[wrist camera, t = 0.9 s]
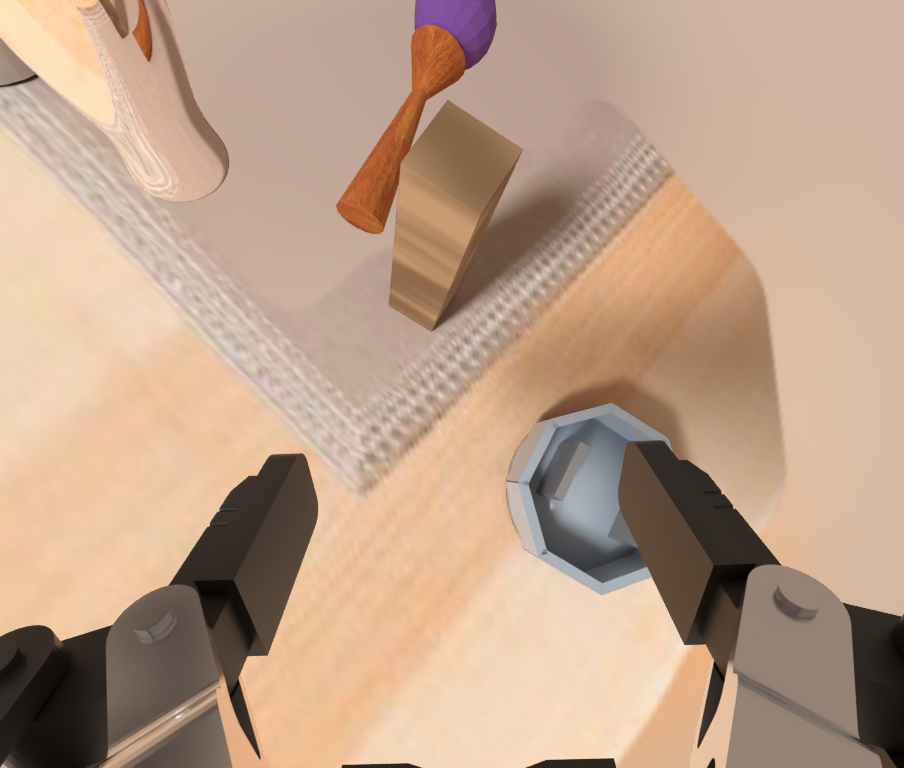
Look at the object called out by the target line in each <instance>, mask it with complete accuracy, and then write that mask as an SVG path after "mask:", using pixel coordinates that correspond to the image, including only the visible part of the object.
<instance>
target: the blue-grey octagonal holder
mask: <svg viewBox="0 0 904 768" xmlns="http://www.w3.org/2000/svg"><path fill="white" fill-rule="evenodd" d="M649 440H662V441H664V442H665V443H666V444H667V445H668V447H669V448H670V449H671V451H672V452H673V450H672V447H671V444H670V441H669V439H668V437H666V436H665V435H663V434H661V433H660V432H658V431H657V430H655V429H653V428H652V427H650V426H649V425H647V424H645V423H644V422H642V421H641V420H639V419H637V418H636V417H634V416H633V415H631V414H629V413H628V412H626V411H625V410H623V409H621V408H620V407H618V406H617V405H615V404H613V403H609V404H605V405H601V406H597V407H594V408H590V409H586V410H582V411H578V412H575V413H571V414H567V415H563V416H559V417H556V418H552V419H548V420H544V421H540V422H536V423H535V424H534V426H533V428H532V430H531V432H530V433H529V434H528V435H527V436H526V437H525V438H524V440H523V441H522V442H521V443H520V445H519V446H518V448H517V450H516V451H515V454H514V456H513V458H512V460H511V463H510V467H509V470H508V476H507V478H506V481H505V483H506V496H507V504H508V509H509V514H510V517H511V520H512V523H513V525H514V527H515V529H516V531H517V533H518V535H519V536H520V538H521V542H522V546H523V548H524V550H526V551H527V552H529V553H531V554H533V555H534V556H536V557H538V558H539V559H541V560H543V561H544V562H546V563H548V564H549V565H551V566H553V567H554V568H556V569H558V570H559V571H561V572H563V573H564V574H566V575H568V576H570V577H571V578H573V579H575V580H576V581H578V582H580V583H581V584H583V585H585V586H586V587H588V588H590V589H592V590H593V591H595V592H597V593H598V594H600V595H601V594H602V595H604V594H607V593H610V592H612V591H615V590H618V589H620V588H623V587H626V586H628V585H631V584H634V583H636V582H639V581H642V580H644V579H647V578H650V577H652V576H651V574H650V572H649V570H648V568H647V566H646V564H645V561H644V559H643V557H642V555H641V553H640V551H639V549H638V547H637V545H636V543H635V541H634V538H633V536H632V534H631V532H630V530H629V528H628V526H627V524H626V522H625V520H624V518H623V515H622V513H621V510H620V506H619V501H618V487H619V482H620V476H621V471H622V465H623V460H624V454H625V449H626V446H627V444H628V442H630V441H649Z"/></svg>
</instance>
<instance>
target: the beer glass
mask: <svg viewBox="0 0 904 768" xmlns="http://www.w3.org/2000/svg"><path fill="white" fill-rule="evenodd" d="M0 39H1V40H2V41H3V42H4V43H5V45H6V46H7V47H8V48H9V49H10V50H11V51H12V52H13V53H14V54H15V55H16V56H17V57H18V58H20V59H21V60H22V61H23V62H24V63H25V64H26V65H27V66H28V67H29V68H30V69H31V70H32V71H33V72H34V73H35V74H37V75H38V76H39V77H40V78H41V79H42V80H43V81H44V82H45V83H47V84H48V85H49V86H50V87H51V88H52V89H53V90H55V91H56V92H57V93H58V94H59V95H60V96H61V97H63V98H64V99H65V100H66V101H67V102H68V103H70V104H71V105H72V106H73V107H74V108H75V109H77V110H78V111H79V112H80V113H81V114H83V115H84V116H85V117H86V118H87V119H88V120H90V121H91V122H92V123H93V124H94V125H95V126H96V127H97V128H99V129H100V130H101V131H102V132H103V133H104V134H105V135H106V136H107V137H108V138H109V139H110V141H111V142H112V143H113V144H114V146H115V147H116V148H117V150H118V151H119V153H120V155H121V157H122V159H123V161H124V163H125V165H126V167H127V169H128V171H129V173H130V174H131V176H132V177H133V179H134V180H135V182H136V183H137V184H138V185H139V186H140V187H141V188H142V189H143V190H145V191H146V192H148V193H149V194H151V195H153V196H155V197H157V198H159V199H162V200H166V201H171V202H190V201H194V200H198V199H201V198H203V197H206V196H208V195H209V194H211V193H212V192H214V191H215V190H216V189H217V188H218V187H219V186H220V185H221V184H222V183H223V181H224V179H225V177H226V175H227V173H228V168H229V157H228V153H227V149H226V147H225V145H224V143H223V142H222V140H221V139H220V137H219V136H218V135H217V133H216V132H215V131H214V130H213V128H212V127H211V126H210V125H209V123H208V122H207V120H206V119H205V117H204V116H203V114H202V112H201V111H200V109H199V107H198V104H197V102H196V99H195V97H194V93H193V90H192V87H191V83H190V80H189V76H188V73H187V69H186V65H185V61H184V58H183V54H182V50H181V47H180V43H179V40H178V36H177V33H176V30H175V27H174V24H173V21H172V18H171V15H170V12H169V9H168V6H167V3H166V0H0Z"/></svg>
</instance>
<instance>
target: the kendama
mask: <svg viewBox="0 0 904 768" xmlns="http://www.w3.org/2000/svg"><path fill="white" fill-rule="evenodd" d="M496 24H497V23H496V6H495V0H416V4H415V33H414V34H413V36H412V45H411V46H412V47H411V51H412V92H411V93H410V95H409V96H408V98H407V99H406V101H405V102H404V104H403V105H402V107H401V108H400V110H399V111H398V113H397V114H396V116H395V118H394V119H393V120H392V122H391V123H390V125H389V127H388V128H387V130H386V131H385V133H384V134H383V136H382V137H381V139H380V140H379V142H378V143H377V145H376V146H375V148H374V149H373V151H372V152H371V154H370V155H369V157H368V158H367V160H366V161H365V163H364V164H363V166H362V167H361V169H360V170H359V172H358V173H357V175H356V176H355V178H354V179H353V181H352V182H351V184H350V185H349V187H348V188H347V190H346V191H345V193H344V194H343V196H342V198H341V199H340V200H339V202H338V203H337V205H336V206H337V210H338V212H339V213H340V215H341V216H342V217H343V218H344V219H345V220H346V221H347V222H349V223H350V224H352V225H353V226H355V227H356V228H358V229H361V230H362V231H365V232H368V233H371V234H380V233H381V232H383V229H384V226H385V223H386V220H387V217H388V214H389V211H390V208H391V205H392V202H393V199H394V196H395V193H396V190H397V187H398V184H399V178H400V166H401V162H402V160H403V159H404V158H405V156H406V155H407V154H408V152H409V151H410V148H411V145H412V141H413V138H414V136H415V133H416V129H417V127H418V123H419V120H420V117H421V114H422V111H423V108H424V105H425V102H426V100H427V99H429V98H431V97H432V96H434V95H435V94H437V93H439V92H440V91H442V90H443V89H445V88H447V87H448V86H450V85H452V84H453V83H455V82H456V81H458V80H459V79H460V78H461V76H462V75H463V74H464V71H465V70H466V69H469V68H471V67H472V66H473V65H475V64H477V63H478V62H479V61H480V60H481V59H482V58H483V56H484V55H485V54H486V53H487V51H488V49H489V47H490V45H491V43H492V40H493V37H494V33H495V30H496V26H497V25H496Z"/></svg>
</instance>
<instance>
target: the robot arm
mask: <svg viewBox="0 0 904 768" xmlns="http://www.w3.org/2000/svg"><path fill="white" fill-rule="evenodd" d="M33 75H35V73H34V72H33V71H32V70H31V69H30V68H29V67H28V66H27V65H26V64H25V63H24V62H23V61H22V60H21V59H20V58H18V57H17V56H16V55H15V54H14V53H13V52H12V51H11V50H10V49H9V48H8V47H7V46H6V45H5V43H4V42H3V41H2V40H1V39H0V85H6V84H10V83H14V82H18V81H21V80H25V79H27V78H29V77H31V76H33ZM618 501H619V506H620V510H621V513H622V515H623V518H624V520H625V522H626V524H627V526H628V528H629V530H630V532H631V534H632V536H633V538H634V541H635V543H636V545H637V547H638V549H639V551H640V553H641V555H642V557H643V559H644V561H645V564H646V566H647V568H648V570H649V572H650V574H651V576H652V578H653V580H654V582H655V584H656V586H657V589H658V591H659V593H660V595H661V597H662V599H663V601H664V603H665V605H666V607H667V609H668V612H669V614H670V616H671V618H672V620H673V622H674V624H675V626H676V628H677V630H678V632H679V634H680V637H681V639H682V641H683V643H684V645H700V644H706V645H707V647H708V649H709V651H710V653H711V655H712V657H713V659H712V661H711V664H710V667H709V672H708V676H707V681H706V686H705V691H704V695H703V700H702V705H701V710H700V715H699V719H698V724H697V729H696V734H695V739H694V743H693V748H692V753H691V757H690V761H689V765H688V768H904V615H903V616H902V617H900V616H896V615H892V614H888V613H883V612H879V611H875V610H871V609H866V608H862V607H858V606H853V605H849V604H846V603H842V602H841V601H840V600H839V599H838V598H837V596H836V595H835V594H834V593H833V592H832V591H831V590H829V589H828V588H827V587H826V586H824V585H823V584H822V583H820V582H819V581H817V580H816V579H814V578H812V577H810V576H809V575H807V574H805V573H802V572H800V571H798V570H795V569H792V568H789V567H785V566H782V565H781V564H780V563H779V561H778V560H777V559H776V558H775V557H774V555H773V554H772V553H771V552H770V550H769V549H768V548H767V547H766V545H765V544H764V543H763V542H762V541H761V539H760V538H759V537H758V536H757V534H756V533H755V532H754V531H753V529H752V528H751V527H750V526H749V524H748V523H747V522H746V521H745V520H744V518H743V517H742V516H741V515H740V513H739V512H738V511H737V510H736V509H733V505H732V504H731V502H730V501H729V500H728V499H727V497H726V496H725V495H722V493H721V490H720V489H719V487H718V486H717V485H716V484H715V483H714V481H713V480H712V479H711V478H710V476H709V475H708V474H707V473H705V472H704V471H702V470H701V469H699V468H698V467H697V466H695V465H694V464H692V463H691V462H689V461H688V460H678V459H677V457H676V456H675V455H674V453H673V452H672V451H671V449H670V448H669V447H668V445H667V444H666V443H665V442H664V441H662V440H649V441H630V442H628V444H627V446H626V449H625V454H624V460H623V465H622V471H621V476H620V482H619V487H618ZM317 517H318V501H317V496H316V492H315V489H314V485H313V481H312V477H311V474H310V470H309V466H308V462H307V459H306V457H305V455H304V454H302V453H300V454H275V455H271V456H269V457H268V459H267V460H266V462H265V464H264V465H263V467H262V469H261V470H260V472H259V474H258V475H257V476H249V477H247V478H246V479H245V480H244V481H243V482H241V483H240V484H239V485H238V486H237V487H235V488H234V489H233V490H232V491H231V492H230V493H229V495H228V496H227V498H226V499H225V501H224V502H223V504H222V505H221V507H220V511H219V512H217V513H216V515H215V516H214V518H213V519H212V521H211V522H210V527H207V528H206V530H205V531H204V533H203V534H202V536H201V537H200V539H199V540H198V542H197V543H196V545H195V546H194V548H193V549H192V551H191V552H190V554H189V556H188V557H187V559H186V560H185V562H184V563H183V565H182V566H181V568H180V569H179V571H178V572H177V574H176V575H175V577H174V578H173V580H172V581H171V583H170V584H169V586H165V587H162V588H159V589H157V590H154V591H152V592H150V593H148V594H146V595H145V596H143V597H141V598H140V599H138V600H137V601H136V602H134V603H133V604H132V605H131V606H129V607H128V608H127V609H126V610H125V611H124V612H123V613H122V614H121V615H120V616H119V618H118V619H117V620H116V621H115V623H114V624H113V625H111V626H108V627H105V628H101V629H98V630H95V631H92V632H89V633H85V634H82V635H79V636H76V637H73V638H69V639H66V640H63V641H60V640H59V639H58V637H57V636H56V635H55V634H54V633H53V631H52V630H51V629H50V628H48V627H46V626H41V625H34V626H27V627H23V628H20V629H17V630H14V631H12V632H9V633H7V634H5V635H3V636H1V637H0V767H1V765H2V764H4V765H5V766H6V767H8V768H268V766H267V763H266V759H265V756H264V752H263V749H262V746H261V742H260V739H259V735H258V732H257V729H256V725H255V722H254V718H253V715H252V711H251V708H250V705H249V701H248V698H247V694H246V691H245V688H244V684H243V681H242V678H241V676H240V673H241V670H242V668H243V666H244V663H245V661H246V658H247V656H267V655H268V653H269V650H270V648H271V645H272V642H273V639H274V637H275V634H276V631H277V629H278V626H279V623H280V620H281V618H282V615H283V612H284V610H285V607H286V604H287V601H288V599H289V596H290V593H291V591H292V588H293V585H294V582H295V580H296V577H297V574H298V572H299V569H300V566H301V563H302V561H303V558H304V555H305V553H306V550H307V547H308V544H309V542H310V539H311V536H312V534H313V531H314V528H315V525H316V522H317ZM342 768H421V767H418V766H415V765H412V764H409V763H403V764H363V765H342ZM527 768H616V765H615V761H614V758H608V759H567V760H545V761H542V762H540V763H537V764H535V765H532V766H529V767H527Z"/></svg>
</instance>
